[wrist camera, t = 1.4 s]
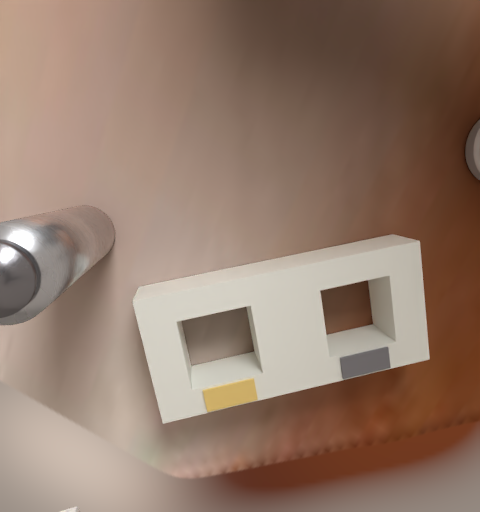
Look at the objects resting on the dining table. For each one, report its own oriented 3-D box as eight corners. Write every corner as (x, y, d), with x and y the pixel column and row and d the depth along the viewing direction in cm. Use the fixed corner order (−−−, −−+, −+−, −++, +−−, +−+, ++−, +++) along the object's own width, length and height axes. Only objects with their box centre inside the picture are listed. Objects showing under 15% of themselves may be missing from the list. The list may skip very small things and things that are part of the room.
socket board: (139, 286, 31) (131, 302, 27) (392, 234, 33) (421, 241, 29) (166, 398, 34) (163, 428, 29) (403, 342, 36) (431, 363, 32)
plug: (49, 211, 29) (-84, 238, 15) (107, 200, 30) (32, 217, 15) (64, 266, 30) (-47, 342, 16) (121, 255, 31) (62, 319, 16)
